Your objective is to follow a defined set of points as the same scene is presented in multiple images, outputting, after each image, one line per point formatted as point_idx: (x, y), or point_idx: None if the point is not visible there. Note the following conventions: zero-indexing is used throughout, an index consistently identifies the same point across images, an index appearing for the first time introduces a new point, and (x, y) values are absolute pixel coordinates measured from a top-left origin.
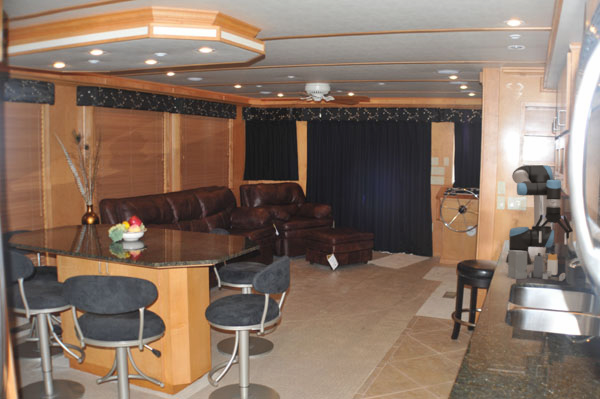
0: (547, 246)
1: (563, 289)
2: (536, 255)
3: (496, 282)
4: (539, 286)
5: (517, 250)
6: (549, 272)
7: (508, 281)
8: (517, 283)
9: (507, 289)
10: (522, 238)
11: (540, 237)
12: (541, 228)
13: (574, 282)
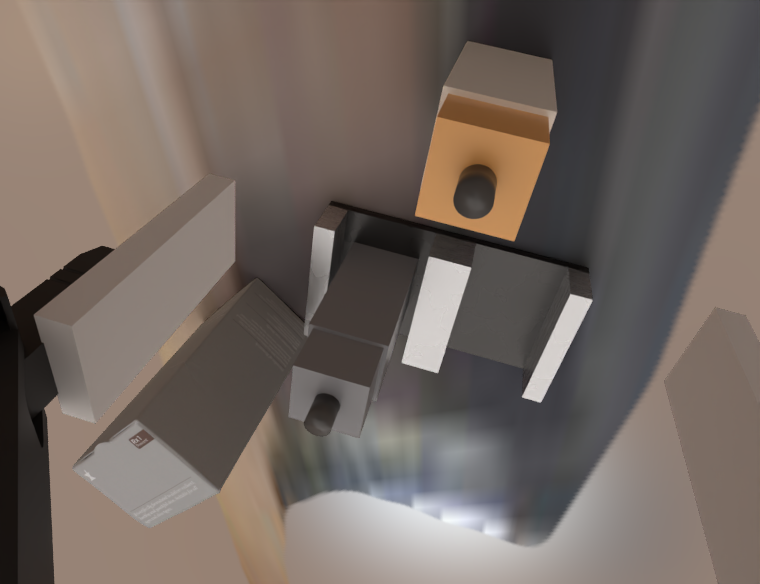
0: None
1: (520, 519)
2: (300, 389)
3: None
4: (401, 480)
5: (125, 452)
6: (453, 308)
7: None
8: (288, 439)
9: (278, 533)
10: None
11: (182, 313)
12: (49, 500)
13: (637, 359)
